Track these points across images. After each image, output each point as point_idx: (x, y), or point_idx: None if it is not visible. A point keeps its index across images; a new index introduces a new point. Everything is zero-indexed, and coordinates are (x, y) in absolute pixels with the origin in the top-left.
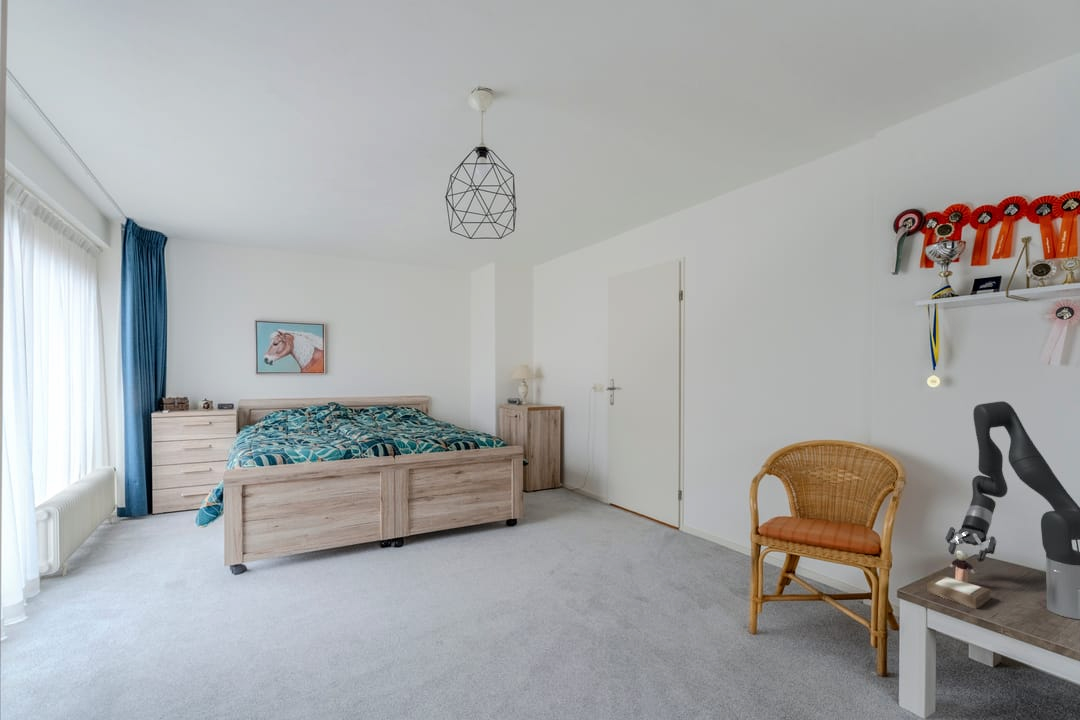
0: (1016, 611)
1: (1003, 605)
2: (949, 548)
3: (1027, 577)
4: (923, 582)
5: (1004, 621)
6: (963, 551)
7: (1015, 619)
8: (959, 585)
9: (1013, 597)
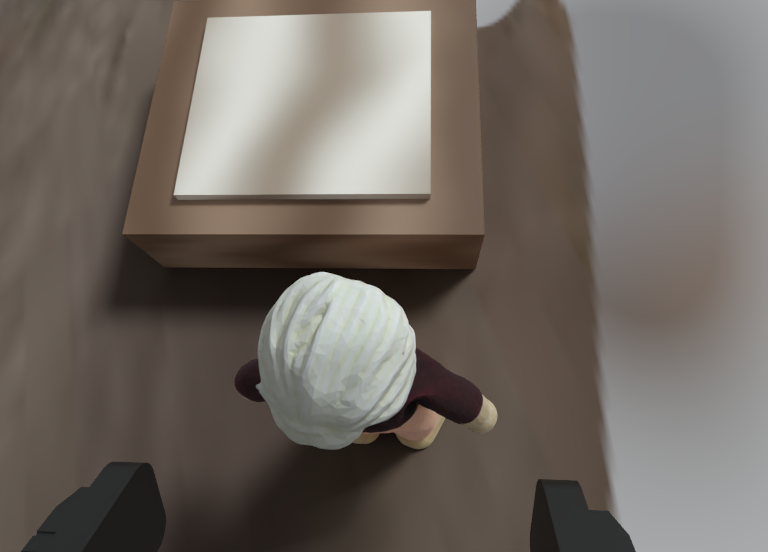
0: (19, 206)
1: (87, 239)
2: (616, 547)
3: None
4: (580, 206)
5: (68, 26)
6: (303, 361)
7: (24, 91)
8: (297, 96)
9: (38, 468)
